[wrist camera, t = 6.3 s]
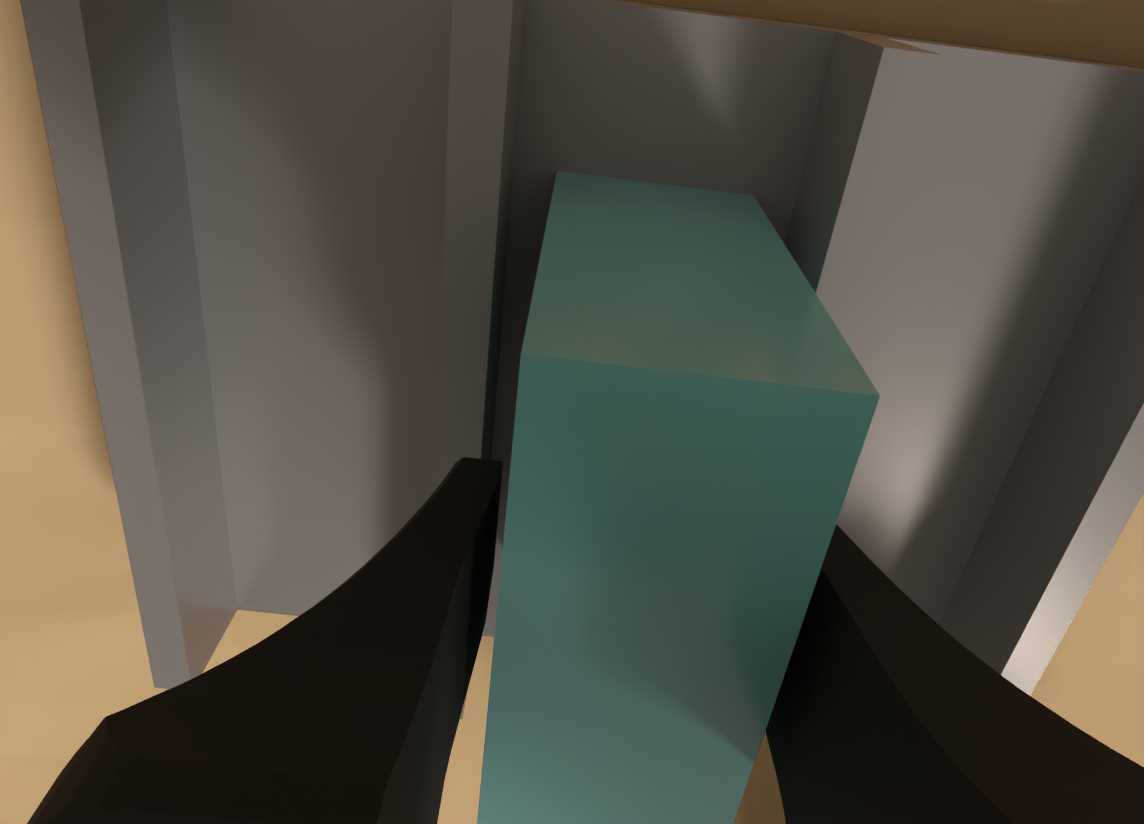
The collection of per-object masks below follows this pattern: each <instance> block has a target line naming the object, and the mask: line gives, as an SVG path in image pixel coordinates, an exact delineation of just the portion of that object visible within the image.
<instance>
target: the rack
mask: <svg viewBox="0 0 1144 824" xmlns="http://www.w3.org/2000/svg"><path fill="white" fill-rule="evenodd" d="M20 2H21V7H22V12H23V17H24V22H25V28H26V33H27V38H28V43H29V48H30V53H31V58H32V63H33V68H34V74H35V79H36V84H37V89H38V94H39V99H40V104H41V109H42V115H43V120H44V125H45V130H46V135H47V140H48V145H49V150H50V155H51V161H52V166H53V171H54V176H55V181H56V186H57V191H58V196H59V202H60V207H61V212H62V217H63V222H64V227H65V232H66V237H67V242H68V248H69V253H70V258H71V263H72V268H73V273H74V278H75V283H76V289H77V294H78V299H79V304H80V309H81V314H82V319H83V324H84V329H85V335H86V340H87V345H88V350H89V355H90V360H91V365H92V370H93V376H94V381H95V386H96V391H97V396H98V401H99V406H100V411H101V416H102V422H103V427H104V432H105V437H106V442H107V447H108V452H109V457H110V463H111V468H112V473H113V478H114V483H115V488H116V493H117V498H118V503H119V509H120V514H121V519H122V524H123V529H124V534H125V539H126V544H127V550H128V555H129V560H130V565H131V570H132V575H133V580H134V585H135V590H136V596H137V601H138V606H139V611H140V616H141V621H142V626H143V631H144V637H145V642H146V647H147V652H148V657H149V662H150V667H151V672H152V677H153V683H154V687H155V688H165V689H171V688H173V687H176V686H178V685H180V684H182V683H184V682H186V681H188V680H190V679H192V678H195V677H197V676H199V675H201V674H202V672H203V671H204V669H205V667H206V665H207V663H208V662H209V660H210V658H211V656H212V654H213V653H214V651H215V649H216V647H217V645H218V643H219V642H220V640H221V638H222V636H223V634H224V633H225V631H226V629H227V627H228V625H229V624H230V622H231V620H232V618H233V616H234V614H235V613H236V611H237V609H238V610H247V611H257V612H266V613H275V614H285V615H294V616H300V615H301V614H303V613H304V612H306V611H307V610H308V609H310V608H311V607H313V606H314V605H316V604H317V603H318V602H320V601H321V600H322V599H323V598H325V597H326V596H327V595H329V594H330V593H331V592H332V591H334V590H335V589H336V588H338V587H339V586H340V585H341V584H342V583H344V582H345V581H346V580H347V579H349V578H350V577H351V576H352V575H353V574H354V573H355V572H357V571H358V570H359V569H360V568H361V567H362V566H363V565H365V564H366V563H367V562H368V561H369V560H370V559H371V558H372V557H373V556H374V555H375V554H376V553H377V552H378V551H379V550H380V549H381V548H382V547H383V546H385V545H386V544H387V543H388V542H389V541H390V540H391V539H392V538H393V537H394V536H395V535H396V534H397V533H398V532H399V531H400V530H401V529H402V528H403V526H404V525H405V524H406V523H407V522H408V521H409V520H410V519H411V518H412V517H413V515H414V514H415V513H416V512H417V511H418V510H419V509H420V508H421V507H422V506H423V504H424V503H425V502H426V501H427V500H428V498H429V497H430V496H431V495H432V494H433V492H434V491H435V490H436V489H437V487H438V486H439V485H440V484H441V482H442V481H443V480H444V478H445V477H446V476H447V474H448V473H449V471H450V470H451V469H452V467H453V465H454V464H455V462H457V461H458V460H460V459H461V458H462V457H470V458H478V459H487V460H496V461H503V468H502V480H501V491H500V503H499V514H498V526H497V537H496V549H495V560H494V569H493V576H492V582H491V589H490V596H489V602H488V609H487V615H486V622H485V626H484V630H483V634H482V635H483V636H492V637H495V626H496V615H497V605H498V594H499V583H500V573H501V562H502V551H503V540H504V530H505V519H506V508H507V498H508V487H509V476H510V466H511V455H512V444H513V433H514V423H515V412H516V401H517V391H518V380H519V369H520V359H521V351H522V346H523V341H524V336H525V331H526V325H527V320H528V315H529V310H530V305H531V300H532V295H533V290H534V285H535V280H536V275H537V270H538V264H539V259H540V254H541V249H542V244H543V239H544V234H545V229H546V224H547V219H548V214H549V209H550V204H551V198H552V193H553V188H554V183H555V178H556V173H557V171H563V172H571V173H579V174H587V175H595V176H603V177H611V178H619V179H627V180H635V181H643V182H652V183H660V184H668V185H676V186H684V187H692V188H700V189H708V190H716V191H724V192H732V193H740V194H748V195H754V197H755V198H756V200H757V201H758V203H759V205H760V206H761V208H762V209H763V211H764V213H765V214H766V216H767V217H768V219H769V220H770V222H771V224H772V225H773V227H774V228H775V230H776V232H777V233H778V235H779V236H780V238H781V239H782V241H783V243H784V244H785V246H786V247H787V249H788V251H789V252H790V254H791V255H792V257H793V258H794V260H795V262H796V263H797V265H798V266H799V268H800V270H801V271H802V273H803V274H804V276H805V277H806V279H807V281H808V282H809V284H810V285H811V287H812V289H813V290H814V292H815V293H816V295H817V296H818V298H819V300H820V301H821V303H822V304H823V306H824V307H825V309H826V311H827V312H828V314H829V315H830V317H831V319H832V320H833V322H834V323H835V325H836V326H837V328H838V330H839V331H840V333H841V334H842V336H843V338H844V339H845V341H846V342H847V344H848V345H849V347H850V349H851V350H852V352H853V353H854V355H855V357H856V358H857V360H858V361H859V363H860V364H861V366H862V368H863V369H864V371H865V372H866V374H867V376H868V377H869V379H870V380H871V382H872V383H873V385H874V387H875V388H876V390H877V391H878V393H879V395H880V398H879V401H878V404H877V406H876V409H875V412H874V415H873V418H872V421H871V424H870V427H869V430H868V433H867V436H866V439H865V441H864V444H863V447H862V450H861V453H860V456H859V459H858V462H857V465H856V468H855V471H854V474H853V476H852V479H851V482H850V485H849V488H848V491H847V494H846V497H845V500H844V503H843V506H842V509H841V511H840V514H839V517H838V520H837V523H836V524H837V525H838V526H839V527H840V528H841V529H842V530H843V531H844V533H845V534H846V535H847V536H848V537H849V538H850V539H851V540H852V541H853V542H854V543H855V544H856V545H857V546H858V547H859V548H860V549H861V550H862V551H863V552H864V553H865V555H866V556H867V557H868V558H869V559H870V560H871V561H872V562H873V563H874V564H875V565H876V566H877V567H878V568H879V569H880V570H881V571H882V572H883V573H884V574H885V575H886V576H887V577H888V578H889V579H890V580H891V581H892V582H893V583H894V584H895V585H896V586H897V587H898V588H899V589H900V590H902V591H903V592H904V593H905V594H906V595H907V596H908V597H909V598H910V599H911V600H912V601H913V602H914V603H915V604H916V605H917V606H919V607H920V608H921V609H922V610H923V611H924V612H925V613H926V614H927V615H929V616H930V617H931V618H932V619H933V620H934V621H935V622H936V623H937V624H939V625H940V626H941V627H942V628H943V629H944V630H945V631H946V632H948V633H949V634H950V635H951V636H952V637H954V638H955V639H956V640H957V641H958V642H960V643H961V644H962V645H963V646H964V647H966V648H967V649H968V650H969V651H971V652H972V653H973V654H975V655H976V656H977V657H978V658H980V659H981V660H982V661H984V662H985V663H986V664H987V665H989V666H990V667H991V668H993V669H994V670H995V671H996V672H998V673H999V674H1000V675H1002V676H1003V677H1004V678H1006V679H1007V680H1008V681H1010V682H1011V683H1012V684H1014V685H1015V686H1017V687H1018V688H1019V689H1021V690H1022V691H1024V692H1025V693H1026V694H1028V695H1029V696H1030V695H1031V693H1032V691H1033V690H1034V688H1035V686H1036V684H1037V682H1038V681H1039V679H1040V677H1041V675H1042V674H1043V672H1044V670H1045V668H1046V666H1047V665H1048V663H1049V661H1050V659H1051V657H1052V656H1053V654H1054V652H1055V650H1056V649H1057V647H1058V645H1059V643H1060V641H1061V640H1062V638H1063V636H1064V634H1065V632H1066V631H1067V629H1068V627H1069V625H1070V624H1071V622H1072V620H1073V618H1074V616H1075V615H1076V613H1077V611H1078V609H1079V607H1080V606H1081V604H1082V602H1083V600H1084V599H1085V597H1086V595H1087V593H1088V591H1089V590H1090V588H1091V586H1092V584H1093V582H1094V581H1095V579H1096V577H1097V575H1098V574H1099V572H1100V570H1101V568H1102V566H1103V565H1104V563H1105V561H1106V559H1107V558H1108V556H1109V554H1110V552H1111V550H1112V549H1113V547H1114V545H1115V543H1116V541H1117V540H1118V538H1119V536H1120V534H1121V533H1122V531H1123V529H1124V527H1125V525H1126V524H1127V522H1128V520H1129V518H1130V516H1131V515H1132V513H1133V511H1134V509H1135V508H1136V506H1137V504H1138V502H1139V500H1140V499H1141V497H1142V495H1143V493H1144V68H1136V67H1129V66H1121V65H1113V64H1106V63H1098V62H1090V61H1082V60H1075V59H1067V58H1059V57H1052V56H1044V55H1036V54H1029V53H1021V52H1013V51H1006V50H998V49H990V48H983V47H975V46H967V45H960V44H952V43H944V42H936V41H929V40H921V39H913V38H906V37H898V36H890V35H883V34H875V33H867V32H860V31H852V30H844V29H837V28H829V27H821V26H814V25H806V24H798V23H790V22H783V21H775V20H767V19H760V18H752V17H744V16H737V15H729V14H721V13H714V12H706V11H698V10H691V9H683V8H675V7H668V6H660V5H652V4H644V3H637V2H629V1H621V0H20ZM466 695H467V693H466ZM465 701H466V697H465ZM465 701H464V704H463V708H462V712H461V715H460V719H462V718H463V712H464V706H465Z"/></svg>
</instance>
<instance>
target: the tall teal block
mask: <svg viewBox="0 0 1144 824" xmlns="http://www.w3.org/2000/svg"><path fill="white" fill-rule="evenodd" d="M879 398H880V395H879V393H878V391H877V390H876V388H875V387H874V385H873V383H872V382H871V380H870V379H869V377H868V376H867V374H866V372H865V371H864V369H863V368H862V366H861V364H860V363H859V361H858V360H857V358H856V357H855V355H854V353H853V352H852V350H851V349H850V347H849V345H848V344H847V342H846V341H845V339H844V338H843V336H842V334H841V333H840V331H839V330H838V328H837V326H836V325H835V323H834V322H833V320H832V319H831V317H830V315H829V314H828V312H827V311H826V309H825V307H824V306H823V304H822V303H821V301H820V300H819V298H818V296H817V295H816V293H815V292H814V290H813V289H812V287H811V285H810V284H809V282H808V281H807V279H806V277H805V276H804V274H803V273H802V271H801V270H800V268H799V266H798V265H797V263H796V262H795V260H794V258H793V257H792V255H791V254H790V252H789V251H788V249H787V247H786V246H785V244H784V243H783V241H782V239H781V238H780V236H779V235H778V233H777V232H776V230H775V228H774V227H773V225H772V224H771V222H770V220H769V219H768V217H767V216H766V214H765V213H764V211H763V209H762V208H761V206H760V205H759V203H758V201H757V200H756V198H755V197H754V195H748V194H740V193H732V192H724V191H716V190H708V189H700V188H692V187H684V186H676V185H668V184H660V183H652V182H643V181H635V180H627V179H619V178H611V177H603V176H595V175H587V174H579V173H571V172H563V171H557V173H556V178H555V183H554V188H553V193H552V198H551V204H550V209H549V214H548V219H547V224H546V229H545V234H544V239H543V244H542V249H541V254H540V259H539V264H538V270H537V275H536V280H535V285H534V290H533V295H532V300H531V305H530V310H529V315H528V320H527V325H526V331H525V336H524V341H523V346H522V351H521V359H520V369H519V380H518V391H517V401H516V412H515V423H514V433H513V444H512V455H511V466H510V476H509V487H508V498H507V508H506V519H505V530H504V540H503V551H502V562H501V573H500V583H499V594H498V605H497V615H496V626H495V637H494V647H493V658H492V669H491V680H490V690H489V701H488V712H487V722H486V733H485V744H484V754H483V765H482V776H481V787H480V797H479V808H478V819H477V824H734V821H735V818H736V815H737V812H738V809H739V806H740V803H741V800H742V797H743V794H744V792H745V789H746V786H747V783H748V780H749V777H750V774H751V771H752V768H753V765H754V762H755V759H756V757H757V754H758V751H759V748H760V745H761V742H762V739H763V736H764V733H765V730H766V727H767V724H768V722H769V719H770V716H771V713H772V710H773V707H774V704H775V701H776V698H777V695H778V692H779V689H780V687H781V684H782V681H783V678H784V675H785V672H786V669H787V666H788V663H789V660H790V657H791V654H792V652H793V649H794V646H795V643H796V640H797V637H798V634H799V631H800V628H801V625H802V622H803V619H804V617H805V614H806V611H807V608H808V605H809V602H810V599H811V596H812V593H813V590H814V587H815V584H816V581H817V579H818V576H819V573H820V570H821V567H822V564H823V561H824V558H825V555H826V552H827V549H828V546H829V544H830V541H831V538H832V535H833V532H834V529H835V526H836V523H837V520H838V517H839V514H840V511H841V509H842V506H843V503H844V500H845V497H846V494H847V491H848V488H849V485H850V482H851V479H852V476H853V474H854V471H855V468H856V465H857V462H858V459H859V456H860V453H861V450H862V447H863V444H864V441H865V439H866V436H867V433H868V430H869V427H870V424H871V421H872V418H873V415H874V412H875V409H876V406H877V404H878V401H879Z"/></svg>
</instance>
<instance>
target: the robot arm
mask: <svg viewBox="0 0 1144 824" xmlns="http://www.w3.org/2000/svg"><path fill="white" fill-rule="evenodd" d="M502 468H503V461H496V460H487V459H478V458H470V457H462V458H461V459H460V460H458V461H457V462H455V464H454V465H453V467H452V469H451V470H450V471H449V473H448V474H447V476H446V477H445V478H444V480H443V481H442V482H441V484H440V485H439V486H438V487H437V489H436V490H435V491H434V492H433V494H432V495H431V496H430V497H429V498H428V500H427V501H426V502H425V503H424V504H423V506H422V507H421V508H420V509H419V510H418V511H417V512H416V513H415V514H414V515H413V517H412V518H411V519H410V520H409V521H408V522H407V523H406V524H405V525H404V526H403V528H402V529H401V530H400V531H399V532H398V533H397V534H396V535H395V536H394V537H393V538H392V539H391V540H390V541H389V542H388V543H387V544H386V545H385V546H383V547H382V548H381V549H380V550H379V551H378V552H377V553H376V554H375V555H374V556H373V557H372V558H371V559H370V560H369V561H368V562H367V563H366V564H365V565H363V566H362V567H361V568H360V569H359V570H358V571H357V572H355V573H354V574H353V575H352V576H351V577H350V578H349V579H347V580H346V581H345V582H344V583H342V584H341V585H340V586H339V587H338V588H336V589H335V590H334V591H332V592H331V593H330V594H329V595H327V596H326V597H325V598H323V599H322V600H321V601H320V602H318V603H317V604H316V605H314V606H313V607H311V608H310V609H308V610H307V611H306V612H304V613H303V614H301V615H300V616H298V617H297V618H296V619H294V620H293V621H291V622H290V623H288V624H287V625H286V626H284V627H283V628H281V629H280V630H278V631H277V632H275V633H273V634H272V635H270V636H269V637H267V638H266V639H264V640H262V641H261V642H259V643H258V644H256V645H254V646H252V647H251V648H249V649H247V650H245V651H243V652H242V653H240V654H238V655H236V656H235V657H233V658H231V659H229V660H227V661H225V662H224V663H222V664H220V665H218V666H216V667H214V668H212V669H210V670H208V671H206V672H205V673H203V674H201V675H199V676H197V677H195V678H192V679H190V680H188V681H186V682H184V683H182V684H180V685H178V686H176V687H173V688H171V689H169V690H167V691H164V692H162V693H160V694H158V695H155V696H153V697H151V698H149V699H146V700H144V701H142V702H140V703H137V704H135V705H133V706H131V707H128V708H126V709H124V710H121V711H119V712H117V713H114V714H112V715H109V716H107V717H105V718H104V719H103V720H102V722H101V723H100V724H99V726H98V727H97V728H96V729H95V731H94V732H93V733H92V734H91V736H90V737H89V738H88V739H87V740H86V742H85V743H84V744H83V745H82V746H81V747H80V748H79V750H78V751H77V752H76V753H75V755H74V756H73V757H72V759H71V760H70V761H69V763H68V764H67V765H66V766H65V768H64V769H63V770H62V772H61V773H60V775H59V776H58V777H57V779H56V780H55V782H54V783H53V785H52V787H51V788H50V790H49V791H48V793H47V794H46V796H45V797H44V799H43V800H42V802H41V803H40V805H39V806H38V808H37V809H36V811H35V812H34V814H33V815H32V817H31V818H30V820H29V822H28V823H27V824H437V820H438V815H439V809H440V803H441V797H442V791H443V785H444V780H445V775H446V771H447V766H448V762H449V757H450V753H451V749H452V745H453V741H454V738H455V734H456V730H457V726H458V723H459V719H460V715H461V712H462V708H463V704H464V701H465V697H466V693H467V690H468V686H469V682H470V678H471V675H472V671H473V667H474V664H475V660H476V656H477V652H478V649H479V645H480V641H481V637H482V634H483V630H484V626H485V622H486V615H487V609H488V602H489V596H490V589H491V582H492V576H493V569H494V560H495V549H496V537H497V526H498V514H499V503H500V491H501V480H502ZM766 735H767V739H768V743H769V747H770V751H771V755H772V759H773V763H774V767H775V771H776V775H777V779H778V783H779V788H780V793H781V798H782V803H783V808H784V813H785V820H786V824H1144V767H1142V766H1140V765H1139V764H1137V763H1135V762H1133V761H1132V760H1130V759H1128V758H1126V757H1125V756H1123V755H1121V754H1120V753H1118V752H1116V751H1114V750H1113V749H1111V748H1109V747H1108V746H1106V745H1104V744H1103V743H1101V742H1100V741H1098V740H1096V739H1095V738H1093V737H1091V736H1090V735H1088V734H1087V733H1085V732H1083V731H1082V730H1080V729H1079V728H1077V727H1075V726H1074V725H1072V724H1071V723H1069V722H1068V721H1066V720H1065V719H1063V718H1062V717H1060V716H1059V715H1057V714H1056V713H1054V712H1053V711H1051V710H1050V709H1048V708H1047V707H1046V706H1044V705H1043V704H1041V703H1040V702H1038V701H1037V700H1035V699H1034V698H1032V697H1031V696H1029V695H1028V694H1026V693H1025V692H1024V691H1022V690H1021V689H1019V688H1018V687H1017V686H1015V685H1014V684H1012V683H1011V682H1010V681H1008V680H1007V679H1006V678H1004V677H1003V676H1002V675H1000V674H999V673H998V672H996V671H995V670H994V669H993V668H991V667H990V666H989V665H987V664H986V663H985V662H984V661H982V660H981V659H980V658H978V657H977V656H976V655H975V654H973V653H972V652H971V651H969V650H968V649H967V648H966V647H964V646H963V645H962V644H961V643H960V642H958V641H957V640H956V639H955V638H954V637H952V636H951V635H950V634H949V633H948V632H946V631H945V630H944V629H943V628H942V627H941V626H940V625H939V624H937V623H936V622H935V621H934V620H933V619H932V618H931V617H930V616H929V615H927V614H926V613H925V612H924V611H923V610H922V609H921V608H920V607H919V606H917V605H916V604H915V603H914V602H913V601H912V600H911V599H910V598H909V597H908V596H907V595H906V594H905V593H904V592H903V591H902V590H900V589H899V588H898V587H897V586H896V585H895V584H894V583H893V582H892V581H891V580H890V579H889V578H888V577H887V576H886V575H885V574H884V573H883V572H882V571H881V570H880V569H879V568H878V567H877V566H876V565H875V564H874V563H873V562H872V561H871V560H870V559H869V558H868V557H867V556H866V555H865V553H864V552H863V551H862V550H861V549H860V548H859V547H858V546H857V545H856V544H855V543H854V542H853V541H852V540H851V539H850V538H849V537H848V536H847V535H846V534H845V533H844V531H843V530H842V529H841V528H840V527H839V526H838V525H837V524H836V526H835V529H834V532H833V535H832V538H831V541H830V544H829V546H828V549H827V552H826V555H825V558H824V561H823V564H822V567H821V570H820V573H819V576H818V579H817V581H816V584H815V587H814V590H813V593H812V596H811V599H810V602H809V605H808V608H807V611H806V614H805V617H804V619H803V622H802V625H801V628H800V631H799V634H798V637H797V640H796V643H795V646H794V649H793V652H792V654H791V657H790V660H789V663H788V666H787V669H786V672H785V675H784V678H783V681H782V684H781V687H780V689H779V692H778V695H777V698H776V701H775V704H774V707H773V710H772V713H771V716H770V719H769V722H768V724H767V727H766Z"/></svg>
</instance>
